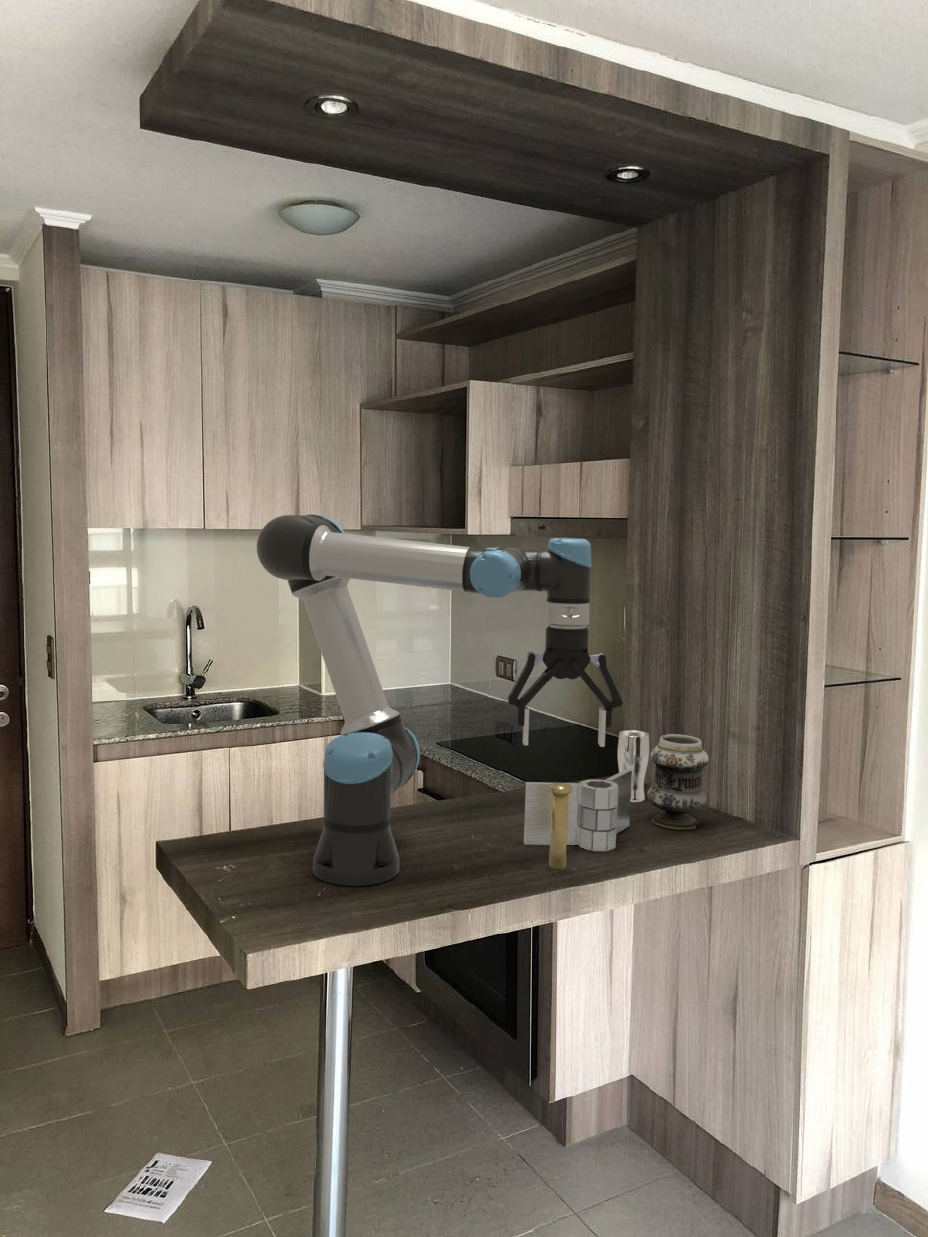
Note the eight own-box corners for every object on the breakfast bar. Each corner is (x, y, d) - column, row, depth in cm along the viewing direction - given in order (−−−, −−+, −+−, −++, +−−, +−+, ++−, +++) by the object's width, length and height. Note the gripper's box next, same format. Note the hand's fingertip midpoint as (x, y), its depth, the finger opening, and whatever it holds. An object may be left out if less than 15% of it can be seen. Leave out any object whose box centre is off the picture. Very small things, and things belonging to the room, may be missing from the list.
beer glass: (642, 804, 217) (645, 738, 216) (611, 800, 220) (614, 734, 219) (650, 796, 224) (653, 732, 222) (620, 792, 227) (623, 728, 225)
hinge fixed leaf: (525, 849, 186) (527, 788, 185) (522, 837, 193) (524, 778, 192) (617, 851, 186) (620, 790, 185) (611, 839, 193) (613, 779, 192)
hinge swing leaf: (605, 852, 185) (607, 791, 184) (571, 844, 189) (574, 785, 188) (642, 829, 199) (645, 772, 198) (610, 822, 203) (613, 766, 202)
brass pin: (547, 870, 176) (550, 788, 174) (545, 862, 180) (548, 782, 178) (569, 870, 176) (573, 789, 174) (566, 862, 180) (570, 782, 178)
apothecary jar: (697, 835, 197) (702, 748, 195) (639, 826, 202) (643, 740, 200) (710, 819, 208) (715, 736, 206) (654, 810, 213) (658, 729, 211)
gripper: (498, 627, 169) (494, 748, 171) (642, 630, 170) (637, 750, 172) (495, 622, 176) (492, 738, 179) (633, 625, 177) (628, 740, 179)
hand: (563, 744), depth 175 cm, fingers open, 13 cm apart
